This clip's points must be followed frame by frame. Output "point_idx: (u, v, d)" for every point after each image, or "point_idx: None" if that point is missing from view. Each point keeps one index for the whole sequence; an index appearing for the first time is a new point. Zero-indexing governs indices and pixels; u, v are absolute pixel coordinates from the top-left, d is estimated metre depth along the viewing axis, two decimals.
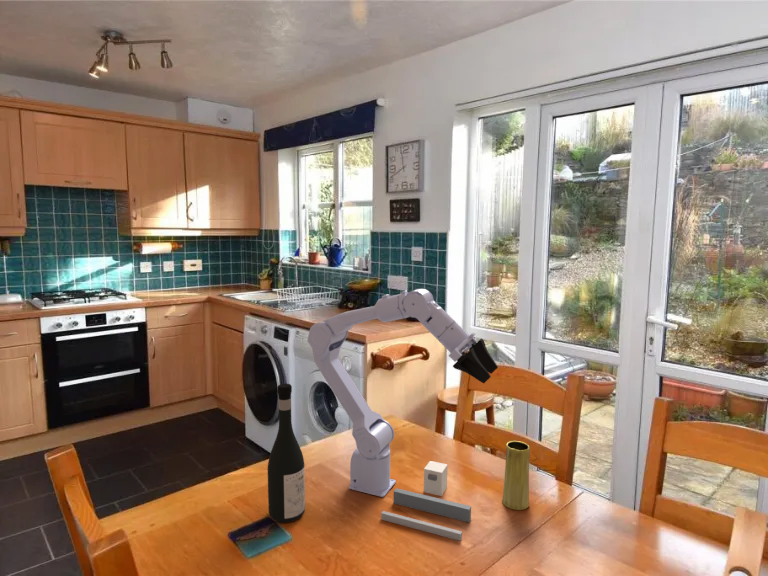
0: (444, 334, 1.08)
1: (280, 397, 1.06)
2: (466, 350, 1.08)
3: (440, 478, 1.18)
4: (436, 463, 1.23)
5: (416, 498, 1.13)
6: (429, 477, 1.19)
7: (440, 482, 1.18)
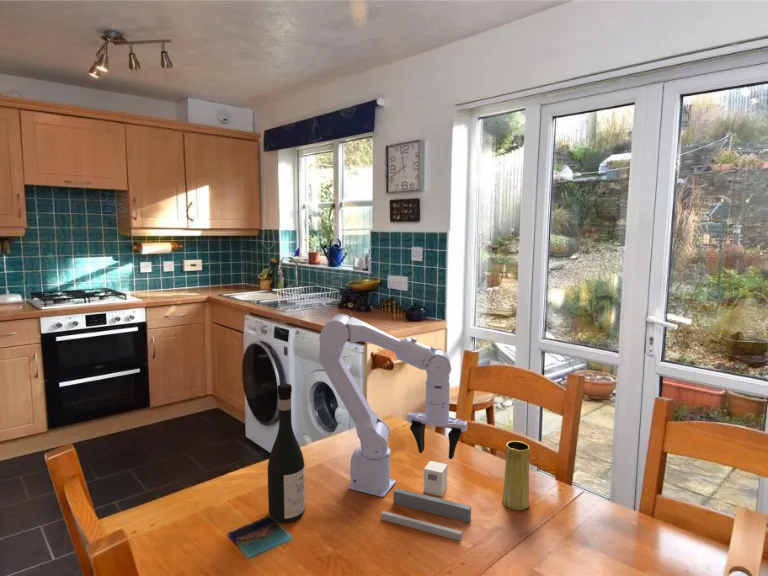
0: (448, 404, 1.18)
1: (280, 397, 1.06)
2: None
3: (440, 478, 1.18)
4: (436, 463, 1.23)
5: (416, 498, 1.13)
6: (429, 477, 1.19)
7: (440, 482, 1.18)
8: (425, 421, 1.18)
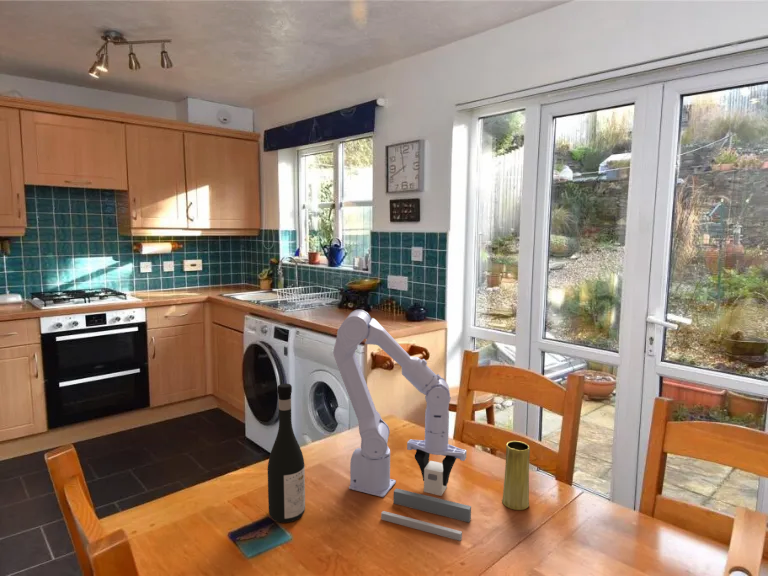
0: (448, 432, 1.19)
1: (280, 397, 1.06)
2: None
3: (440, 478, 1.18)
4: (436, 463, 1.23)
5: (416, 498, 1.13)
6: (429, 477, 1.19)
7: (440, 482, 1.18)
8: (424, 449, 1.19)
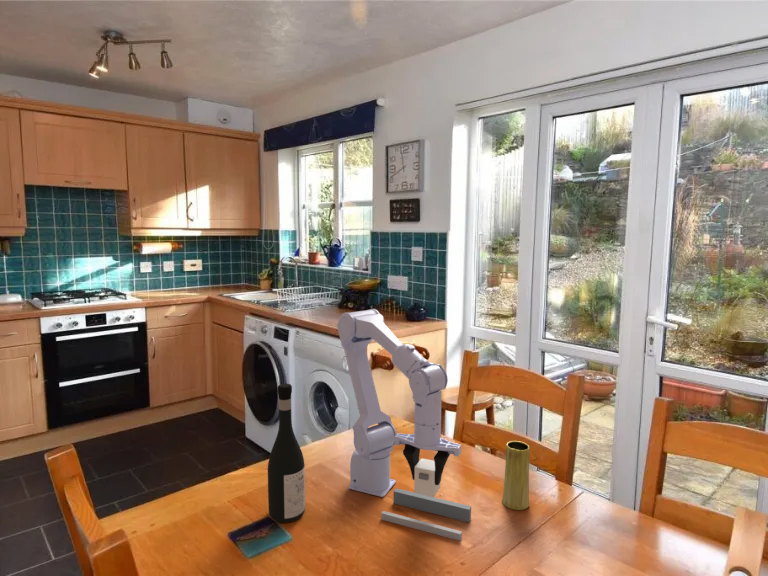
0: (440, 425, 1.06)
1: (280, 397, 1.06)
2: None
3: (432, 477, 1.06)
4: (428, 460, 1.10)
5: (416, 498, 1.13)
6: (420, 476, 1.06)
7: (432, 482, 1.06)
8: (414, 444, 1.06)
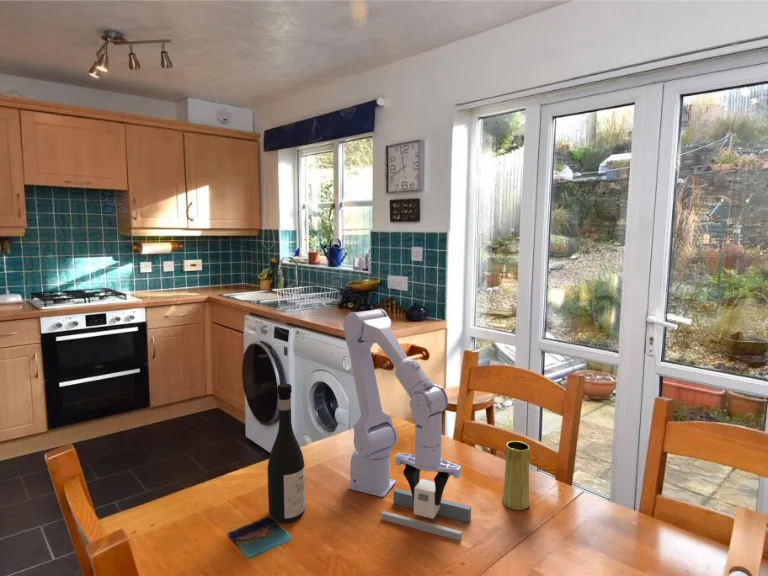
0: (440, 446, 1.06)
1: (280, 397, 1.06)
2: None
3: (432, 498, 1.06)
4: (428, 481, 1.11)
5: None
6: (420, 497, 1.07)
7: (432, 503, 1.06)
8: (414, 465, 1.07)
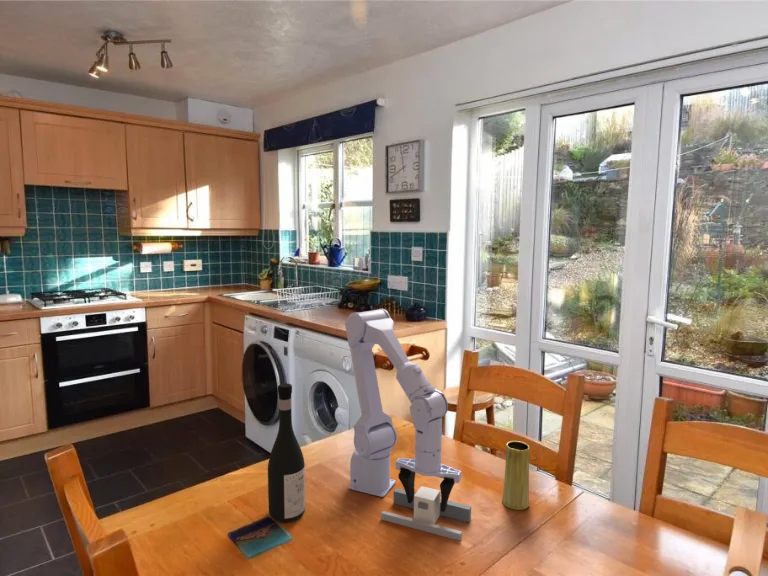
0: (440, 451, 1.07)
1: (280, 397, 1.06)
2: None
3: (431, 507, 1.06)
4: (428, 489, 1.11)
5: None
6: (419, 505, 1.07)
7: (431, 511, 1.06)
8: (415, 470, 1.07)
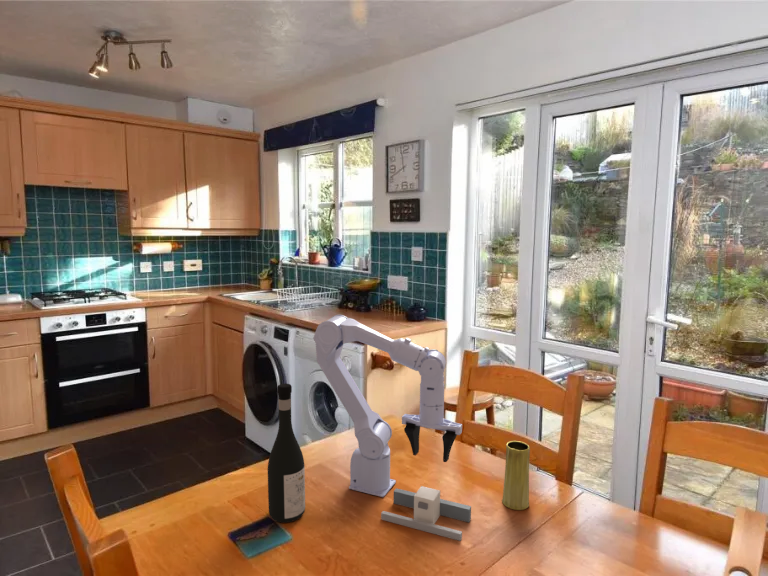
0: (443, 406, 1.16)
1: (280, 397, 1.06)
2: None
3: (432, 506, 1.06)
4: (428, 489, 1.11)
5: None
6: (419, 505, 1.07)
7: (432, 511, 1.06)
8: (419, 423, 1.16)
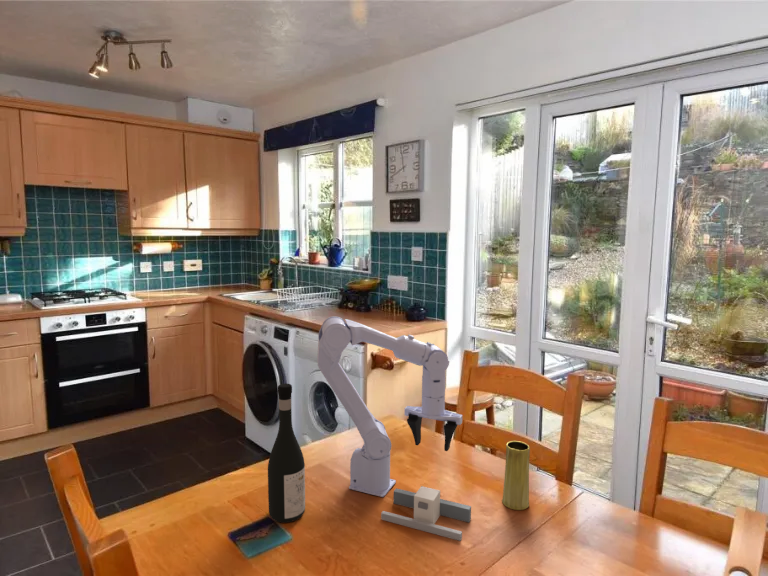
0: (444, 397, 1.21)
1: (280, 397, 1.06)
2: None
3: (431, 506, 1.06)
4: (428, 489, 1.11)
5: None
6: (419, 505, 1.07)
7: (431, 511, 1.06)
8: (421, 414, 1.22)
